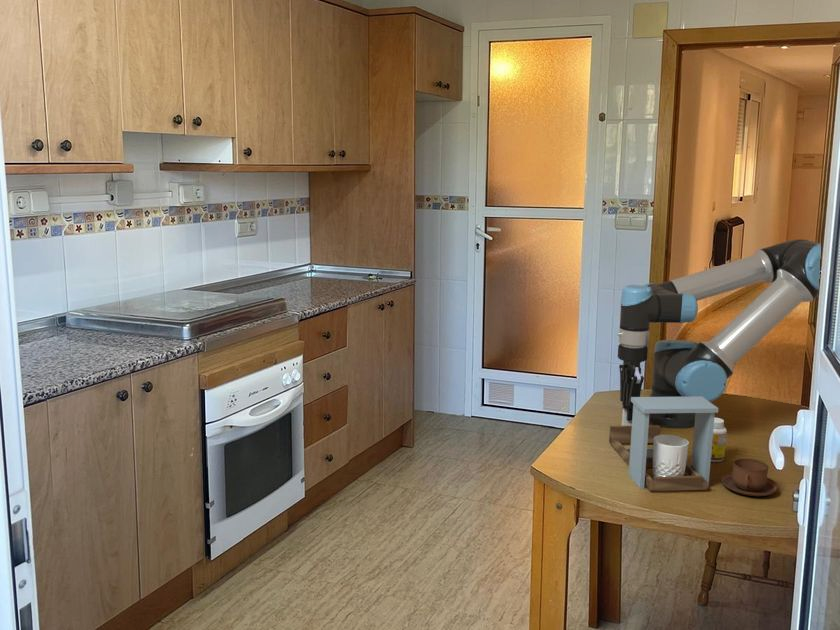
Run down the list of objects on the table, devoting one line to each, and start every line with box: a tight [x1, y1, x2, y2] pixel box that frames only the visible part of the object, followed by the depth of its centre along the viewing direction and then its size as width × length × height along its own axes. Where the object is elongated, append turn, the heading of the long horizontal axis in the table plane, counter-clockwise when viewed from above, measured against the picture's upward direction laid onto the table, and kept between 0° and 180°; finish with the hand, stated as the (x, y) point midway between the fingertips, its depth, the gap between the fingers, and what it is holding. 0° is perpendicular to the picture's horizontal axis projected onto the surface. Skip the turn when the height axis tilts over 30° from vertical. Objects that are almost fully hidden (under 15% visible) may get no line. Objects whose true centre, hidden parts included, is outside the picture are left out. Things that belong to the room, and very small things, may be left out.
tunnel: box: [628, 396, 719, 490], centre depth 192 cm, size 9×17×19 cm, turn 94°
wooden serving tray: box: [608, 424, 708, 491], centre depth 202 cm, size 31×13×4 cm, turn 4°
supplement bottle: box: [711, 417, 728, 463], centre depth 208 cm, size 6×6×10 cm
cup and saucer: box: [720, 458, 779, 497], centre depth 190 cm, size 12×12×6 cm
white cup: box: [652, 434, 690, 481], centre depth 193 cm, size 8×8×10 cm
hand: (627, 430), depth 223 cm, fingers closed
